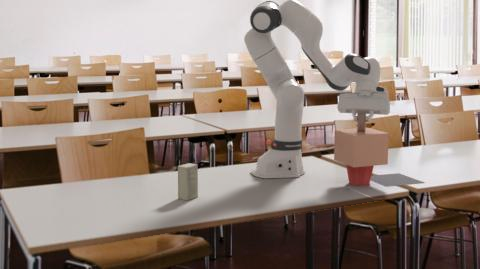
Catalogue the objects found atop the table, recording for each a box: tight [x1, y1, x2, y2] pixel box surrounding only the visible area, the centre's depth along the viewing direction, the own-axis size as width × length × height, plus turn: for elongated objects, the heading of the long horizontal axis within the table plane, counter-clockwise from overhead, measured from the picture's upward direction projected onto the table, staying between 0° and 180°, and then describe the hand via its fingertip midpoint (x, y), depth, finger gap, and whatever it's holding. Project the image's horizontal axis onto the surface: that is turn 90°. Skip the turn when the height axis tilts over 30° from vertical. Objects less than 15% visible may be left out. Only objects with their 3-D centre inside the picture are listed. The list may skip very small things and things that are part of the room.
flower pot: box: [345, 164, 374, 187], centre depth 265 cm, size 11×11×10 cm
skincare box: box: [177, 162, 199, 201], centre depth 244 cm, size 6×4×12 cm
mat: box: [370, 172, 425, 188], centre depth 273 cm, size 18×18×1 cm
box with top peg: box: [333, 113, 390, 167], centre depth 263 cm, size 15×15×19 cm
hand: (361, 121), depth 262 cm, fingers closed on box with top peg, 3 cm apart
